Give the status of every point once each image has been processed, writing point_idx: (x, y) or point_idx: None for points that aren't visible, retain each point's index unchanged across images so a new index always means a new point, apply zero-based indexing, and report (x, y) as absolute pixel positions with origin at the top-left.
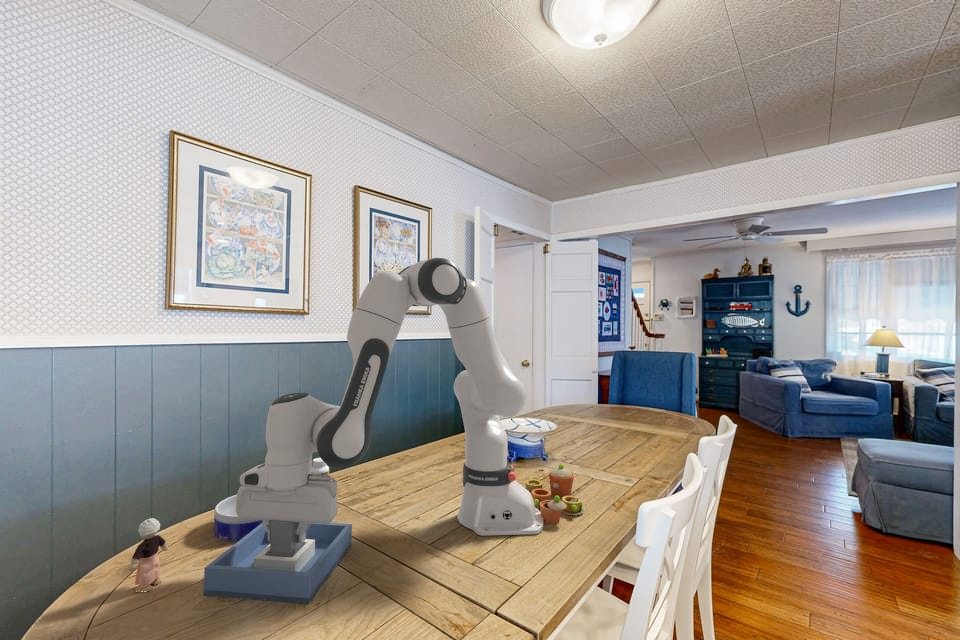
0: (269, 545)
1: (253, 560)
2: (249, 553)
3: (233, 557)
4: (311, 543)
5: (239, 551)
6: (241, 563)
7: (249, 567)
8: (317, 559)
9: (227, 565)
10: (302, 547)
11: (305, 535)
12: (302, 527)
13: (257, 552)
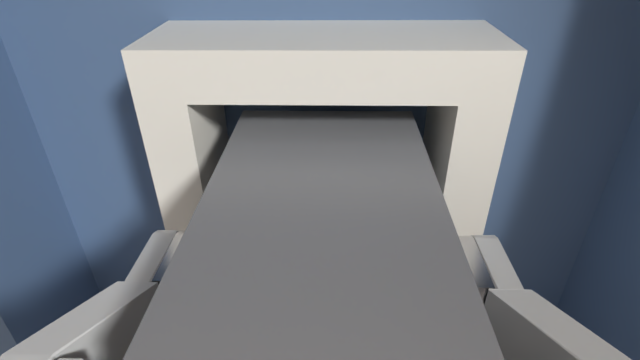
0: (164, 188)
1: (108, 153)
2: (19, 106)
3: (39, 281)
4: (508, 123)
5: (14, 242)
6: (69, 188)
7: (147, 215)
8: (527, 94)
9: (68, 307)
10: (449, 190)
11: (506, 259)
12: (456, 232)
13: (46, 62)
